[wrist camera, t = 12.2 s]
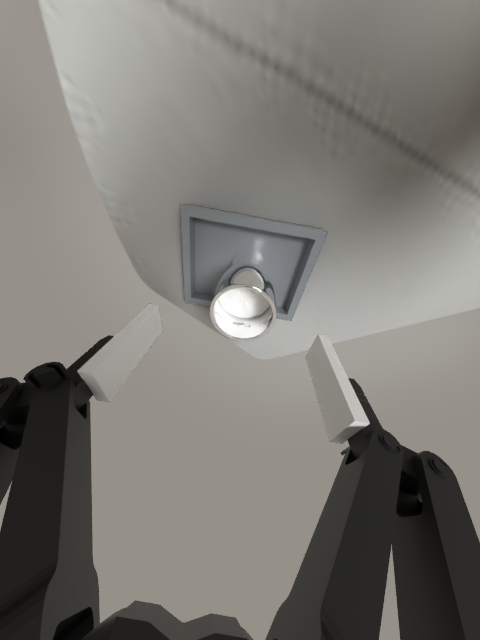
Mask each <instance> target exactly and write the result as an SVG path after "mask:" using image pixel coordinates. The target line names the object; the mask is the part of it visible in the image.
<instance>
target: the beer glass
mask: <svg viewBox="0 0 480 640" xmlns="http://www.w3.org/2000/svg"><path fill="white" fill-rule="evenodd" d="M266 271H267V263H266V260H265V258H264V256H263V255H262V254H261V253H259V252H258V251H256V250H253V249H245V250H242V251H240V252H239V253H237V254H236V255H235V256H234V258H233V260H232V263H231V267H230V268H229V269H228V270H227V271H226V272H225V273H224V274H223V276H222V277H221V279H220V281H219V283H218V285H217V287H216V290H215V293H214V296H213V300H212V303H211V306H210V317H211V321H212V323H213V325H214V326H215V328H216V329H217V330H218V331H219V332H220V333H222V334H223V335H225V336H226V337H228V338H231V339H234V340H239V341H250V340H255V339H258V338H260V337H262V336H264V335H265V334H267V333H268V332H269V331H270V330H271V328H272V327H273V325H274V323H275V320H276V297H275V290H274V286H273V283H272V280H271V278H270V276H269V274H268V273H267V272H266Z"/></svg>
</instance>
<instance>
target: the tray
mask: <svg viewBox="0 0 480 640" xmlns="http://www.w3.org/2000/svg"><path fill="white" fill-rule="evenodd" d="M180 213H181V235H182V256H183V278H184V299H185V302H186V303H192V304H197V305H203V306H209V307H210V306H211V303H212V300H213V296H214V293H215V290H216V287H217V285H218V283H219V281H220V279H221V277H222V276H223V274H224V273H225V272H226V271H227V270H228V269H229V268H230V267H231V263H232V260H233V258H234V256H235V255H236V254H237V253H239V252H240V251H242V250H245V249H253V250H256V251H258V252H259V253H261V254H262V255H263V256H264V258H265V260H266V263H267V271H266V272H267V273H268V274H269V276H270V278H271V280H272V283H273V286H274V290H275V297H276V318H277V319H282V320H288V321H292V318H293V316H294V314H295V311H296V309H297V306H298V304H299V301H300V299H301V296H302V294H303V292H304V289H305V287H306V284H307V282H308V279H309V277H310V274H311V272H312V269H313V267H314V265H315V262H316V260H317V257H318V255H319V252H320V250H321V247H322V245H323V243H324V240H325V238H326V235H327V233H328V232H327V231H325V230H323V229H320V228H315V227H310V226H305V225H299V224H294V223H288V222H283V221H278V220H272V219H267V218H261V217H256V216H251V215H245V214H240V213H234V212H229V211H224V210H218V209H213V208H207V207H202V206H197V205H191V204H180Z"/></svg>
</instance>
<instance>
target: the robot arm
mask: <svg viewBox="0 0 480 640" xmlns="http://www.w3.org/2000/svg"><path fill="white" fill-rule="evenodd" d="M162 331H163V329H162V323H161V316H160V310H159V305H156V304H150V303H149V304H148V305H147V306H146V307H145V308H144V309H143V310H142V311H141V312H140V313H139V314H138V315H137V316H136V317H134V318H133V319H132V320H131V321H130V322H129V323H128V324H127V325H126V326H125V327H124V328H123V329H122V330H120V331H119V332H118V333H117V334H116V335H115V336H107V337H105V338H103V339H101V340H100V341H98V342H97V343H96V344H95V345H94V346H93V347H92V348H90V349H89V350H88V352H86V353H85V354H84V355H82V356H81V357H80V358H79V359H78V360H77V361H76V362H74V363H73V364H72V365H71V366H70V367H69V368H68V369H66V368H65V367H64V366H63V364H61V363H59V362H50V363H45V364H43V365H40V366H38V367H36V368H34V369H32V370H31V371H30V372H29V373H27V374H26V376H25V377H24V380H25V381H26V383H20V382H19V381H18V380H17V379H15V378H12V377H8V378H2V379H0V504H1V502H2V500H3V498H4V496H5V494H6V492H7V490H8V488H9V486H10V484H11V482H12V484H11V489H10V493H9V497H8V501H7V506H6V510H5V514H4V518H3V522H2V527H1V531H0V640H253V639H252V638H251V636H250V635H249V634H248V633H247V632H246V631H245V630H244V629H243V628H242V627H241V626H240V625H239V623H238V621H237V619H236V618H233V617H227V616H222V615H217V614H209V615H206V616H203V617H200V618H197V619H194V620H191V621H189V622H185V623H183V622H181V621H179V620H178V619H177V618H176V617H174V616H173V615H172V614H171V613H169V612H168V611H167V610H166V609H164V608H163V607H162V606H161V605H157V604H152V603H146V602H140V601H134V602H133V603H132V604H131V605H130V606H128V607H127V608H123V609H121V610H120V611H118V612H116V613H114V614H112V615H111V616H110V617H108V618H107V619H106V620H104V621H103V622H102V623H100V617H99V586H98V577H97V572H96V570H95V568H94V565H93V557H92V501H91V500H92V495H91V436H90V435H91V434H90V433H91V432H90V402H89V399H90V398H91V397H92V396H93V395H94V397H95V398H96V400H99V401H105V402H110V401H111V400H112V399H113V397H114V396H115V394H116V393H117V392H118V391H119V389H120V388H121V387H122V385H123V384H124V383H125V381H126V380H127V379H128V377H129V376H130V374H131V373H132V372H133V370H134V369H135V368H136V366H137V365H138V364H139V362H140V361H141V360H142V358H143V357H144V356H145V354H146V353H147V351H148V350H149V349H150V348H151V346H152V345H153V344H154V342H155V341H156V339H157V338H158V337H159V335H160V334H161V333H162ZM306 360H307V364H308V368H309V371H310V375H311V378H312V382H313V386H314V389H315V393H316V396H317V399H318V403H319V406H320V410H321V414H322V417H323V421H324V424H325V428H326V432H327V435H328V439H329V442H335V443H341V444H342V443H344V442H345V441H346V440H348V442H349V445H350V446H349V447H348V448H346V449H345V450H343V451H342V452H341V454H342V455H343V454H345V456H344V459H343V461H342V463H341V466H340V468H339V471H338V474H337V476H336V478H335V481H334V484H333V486H332V489H331V492H330V494H329V496H328V499H327V501H326V504H325V506H324V509H323V511H322V514H321V517H320V519H319V522H318V524H317V527H316V529H315V532H314V534H313V537H312V539H311V542H310V544H309V547H308V549H307V552H306V554H305V557H304V559H303V562H302V564H301V567H300V570H299V572H298V574H297V577H296V580H295V582H294V585H293V587H292V590H291V592H290V594H289V596H288V598H287V599H286V600H285V601H284V602H283V604H282V605H281V607H280V608H279V610H278V611H277V614H276V616H275V618H274V620H273V623H272V625H271V628H270V630H269V633H268V635H267V638H266V640H379V632H380V626H381V618H382V610H383V603H384V596H385V588H386V581H387V573H388V566H389V557H390V551H391V544H392V551H393V562H394V573H395V584H396V596H397V607H398V618H399V629H400V639H401V640H480V542H479V539H478V537H477V535H476V531H475V528H474V526H473V523H472V520H471V517H470V514H469V512H468V509H467V506H466V503H465V501H464V498H463V495H462V492H461V489H460V487H459V484H458V481H457V479H456V476H455V475H454V473H453V471H452V470H451V469H450V467H449V466H448V465H447V464H446V463H445V462H444V461H443V460H442V459H441V458H440V457H438V456H437V455H435V454H434V453H431V452H429V451H422V452H420V453H416V452H414V451H412V450H410V449H408V448H406V447H404V446H402V445H400V444H399V442H398V441H397V440H396V438H395V437H394V436H393V435H391V434H390V433H389V432H387V431H386V430H383V428H382V426H381V425H380V423H379V421H378V419H377V417H376V415H375V414H374V411H373V409H372V408H371V406H370V404H369V403H368V400H367V398H366V397H365V396H364V393H363V391H362V389H361V387H360V386H359V385H358V383H356V381H355V380H354V379H350V378H348V377H347V375H346V373H345V371H344V369H343V367H342V365H341V363H340V361H339V359H338V357H337V355H336V353H335V350H334V348H333V346H332V344H331V342H330V340H329V338H328V336H326V335H320V334H318V335H317V337H316V339H315V340H314V342H313V344H312V346H311V348H310V349H309V351H308V353H307V355H306Z"/></svg>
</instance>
